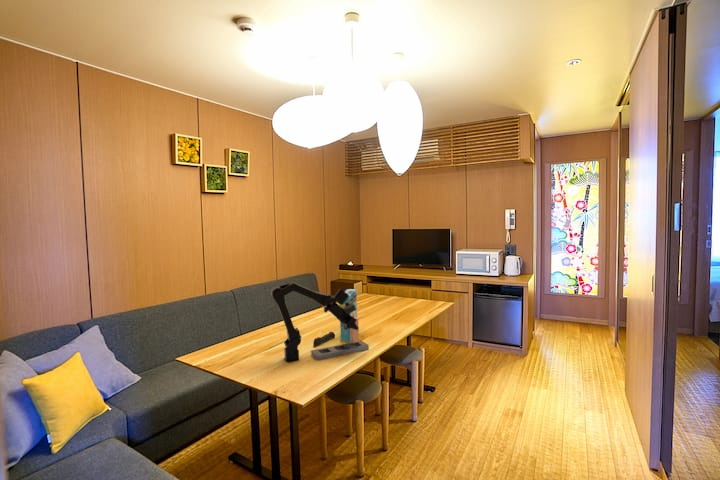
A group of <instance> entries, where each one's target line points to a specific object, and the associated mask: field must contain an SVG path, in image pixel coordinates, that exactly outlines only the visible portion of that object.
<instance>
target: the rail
mask: <svg viewBox="0 0 720 480" xmlns="http://www.w3.org/2000/svg"><path fill="white" fill-rule="evenodd" d="M369 349H370V347H369V344H368V343H366V342H365V341H362V340H359V342H354V343H353V342H352V341H350V342H346V343H342V344H337V345H332V346H327V347H323V348H317V349H313V350H311V351H310V355H311V357H313V359H315V360H316V361H322V360H326V359H333V358H336V357H340V356H345V355H346V356H347V355H350V354H353V353H354V354H355V353H359V352H364V351H368V350H369Z"/></svg>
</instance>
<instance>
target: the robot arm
mask: <svg viewBox="0 0 720 480" xmlns="http://www.w3.org/2000/svg"><path fill="white" fill-rule="evenodd" d="M292 292H295V293H298V294H300V295H303V296H305V297H307V298H310V299H313V300H314V301H316V303H319V304H320V305H322V306H323V312H324V313H325V314H326V313H327V312H329V313H330V314H332V315H333V316H334V317H336V319H337V321H339V322H342V323H343V324H345V326H346V327H347V328H348V329H350V328H352V329H356V330H358V329H359V328H358V327H357V325H356V324H355V322H356V319H355V318H354V317H353V316H350V314H349V313H351V312H353V311H355V310H356V308H355V306H354V304H353V303H350V304H349V303H348V302H347V303H345V307H344V308H342V307H340V304H344V302H345V301H346V300H347V299H348V298H349V295H348V294H347V293H345V290H344V291H343V290H342V289H341V288H339V289H338V290H337V292H336V293H335V294H334V295H333V294H332V295H329V294H326V293H324V292H320V291H314V290H312V289H309V288H307V287H305V286H302V285H299V284H298V283H296V282H293V281H292V282H291V281H290V282H288V283H286V284H282V285H279V286H277V285H276V286H273V287H272V288H271V290H270V295H271V297H272V299H274V300H273V301H275V303H276V304H277V307H278V310H279V312H280V315H281V317H282V320H283V323H284V325H285V328H286V335H287V338H286V339H285V341H284V342H283V344H284V346H285V347H284V357H283V359H284V361H285V362H286V363H291V362H297V361H299V360H300V350H299V349H298V348H299V346H300V344H301V342H302V338H303V337H302V335H301V334H300V330H299V328H298V327H295V326H294V324H293V321H292V319H291V315H290V313H289V310H288V307H287V305H286V300H285V296H286V295H288V294H290V293H292ZM359 330H360V329H359Z"/></svg>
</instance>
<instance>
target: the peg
mask: <svg viewBox="0 0 720 480" xmlns="http://www.w3.org/2000/svg"><path fill="white" fill-rule="evenodd" d="M354 318H355V319H356V322H355V324H356V325H357V327H358V328H359V317H358V316H357V317H354ZM350 329H351V341H350V342H353V343H354V342H359V341H360V336H359V335H360V333H359V332H360V331H359V330H360V329H358V330H356V329H352V328H350Z"/></svg>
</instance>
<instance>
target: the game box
mask: <svg viewBox="0 0 720 480" xmlns="http://www.w3.org/2000/svg"><path fill="white" fill-rule="evenodd" d="M344 292H345V293H347V294H348V295H349V298H348V299H347V300H346V301H345V302H344V304H339V306H340V307H342V308H344V307H345V303H347V302H348V303H349V304H350V303H353V304H354V306H355V308H356V310H355V311H353V312H351V313H349V314H350V316H353V317H357V318H358V300H357V297H358V296H357V295H358V294H357V289H356V288H355V289H354V288H353V289H352V288H349V289H346V290H344ZM339 322H340V321H339ZM339 327H340V328H339V329H340V342H348V343H351V342H352V341H351V329H348V328H347V327H346V326H345V324H343V323H342V322H340V326H339Z"/></svg>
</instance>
